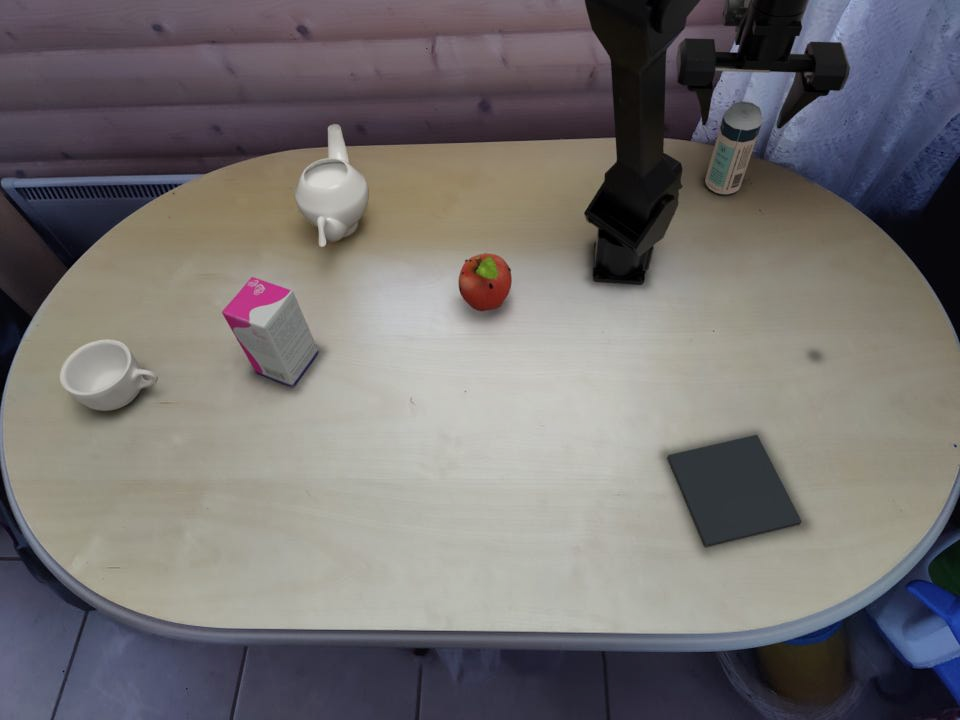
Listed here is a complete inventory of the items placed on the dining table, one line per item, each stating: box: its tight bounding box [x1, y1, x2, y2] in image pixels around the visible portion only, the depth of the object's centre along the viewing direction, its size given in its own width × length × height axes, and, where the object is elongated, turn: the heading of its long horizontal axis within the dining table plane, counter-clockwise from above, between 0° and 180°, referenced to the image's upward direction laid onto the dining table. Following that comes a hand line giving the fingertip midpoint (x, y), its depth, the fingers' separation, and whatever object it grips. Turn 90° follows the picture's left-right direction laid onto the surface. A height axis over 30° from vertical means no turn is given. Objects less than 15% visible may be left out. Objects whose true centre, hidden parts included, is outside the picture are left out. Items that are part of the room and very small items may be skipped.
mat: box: [667, 434, 803, 547], centre depth 70 cm, size 10×10×1 cm
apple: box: [458, 253, 513, 312], centre depth 81 cm, size 8×7×10 cm
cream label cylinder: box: [705, 100, 764, 195], centre depth 90 cm, size 5×5×12 cm
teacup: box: [59, 339, 159, 412], centre depth 78 cm, size 10×8×5 cm
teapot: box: [294, 123, 370, 248], centre depth 91 cm, size 10×20×9 cm, turn 0°
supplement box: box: [221, 276, 319, 388], centre depth 77 cm, size 6×6×12 cm
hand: (740, 125), depth 87 cm, fingers open, 9 cm apart
